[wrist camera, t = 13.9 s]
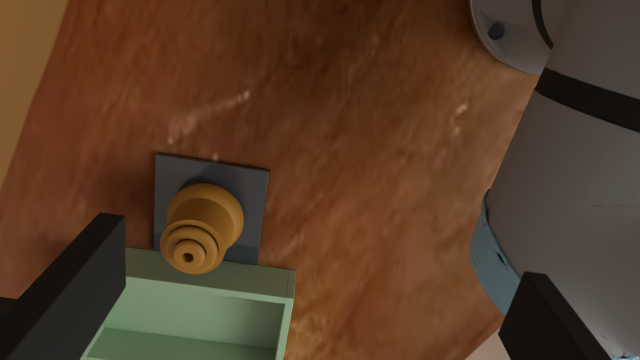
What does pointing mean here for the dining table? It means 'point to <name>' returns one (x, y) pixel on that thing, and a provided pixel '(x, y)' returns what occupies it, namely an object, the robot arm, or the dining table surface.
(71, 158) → the dining table surface
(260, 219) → the slate tile
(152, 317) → the tote
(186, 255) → the ornamental finial
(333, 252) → the dining table surface
